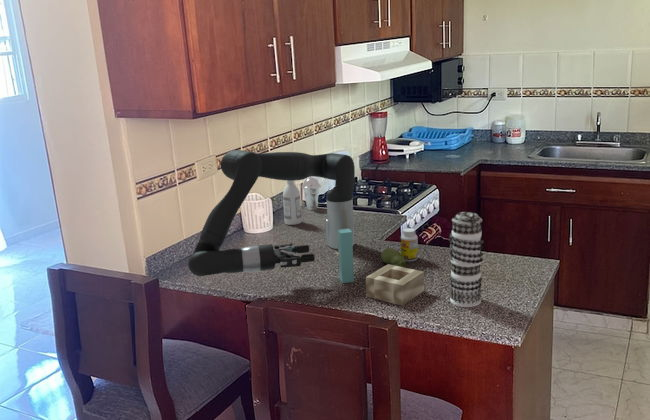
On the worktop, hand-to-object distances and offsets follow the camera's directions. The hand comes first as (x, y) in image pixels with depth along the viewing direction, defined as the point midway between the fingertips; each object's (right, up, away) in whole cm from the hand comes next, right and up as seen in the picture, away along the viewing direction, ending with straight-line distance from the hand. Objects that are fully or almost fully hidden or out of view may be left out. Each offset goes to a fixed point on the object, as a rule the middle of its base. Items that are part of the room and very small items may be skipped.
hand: (311, 252), depth 184 cm
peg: (+11, -9, +5) cm, 15 cm away
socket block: (+24, -11, -7) cm, 28 cm away
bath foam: (-9, +7, +67) cm, 68 cm away
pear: (+27, -5, +16) cm, 31 cm away
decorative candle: (+43, -13, -13) cm, 47 cm away
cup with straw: (-2, +13, +87) cm, 88 cm away
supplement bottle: (+32, -4, +20) cm, 38 cm away
